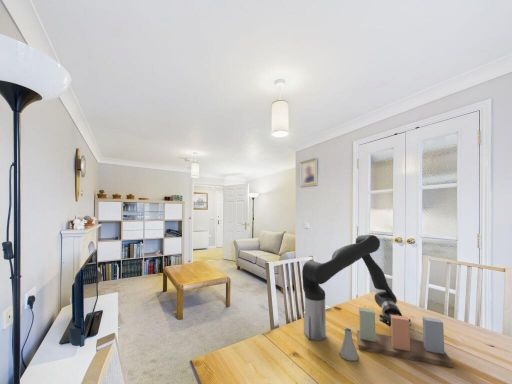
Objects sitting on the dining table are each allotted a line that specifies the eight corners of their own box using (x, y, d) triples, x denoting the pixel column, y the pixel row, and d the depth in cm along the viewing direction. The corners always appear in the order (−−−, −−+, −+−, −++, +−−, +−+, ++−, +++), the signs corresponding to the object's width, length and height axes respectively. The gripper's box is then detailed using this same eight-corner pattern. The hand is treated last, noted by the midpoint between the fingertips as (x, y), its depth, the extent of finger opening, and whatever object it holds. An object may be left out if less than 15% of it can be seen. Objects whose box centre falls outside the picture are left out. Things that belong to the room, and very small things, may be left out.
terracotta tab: (392, 348, 95) (392, 317, 96) (391, 343, 98) (390, 314, 98) (410, 351, 93) (409, 320, 94) (408, 347, 96) (407, 316, 96)
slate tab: (426, 350, 93) (425, 320, 94) (423, 346, 96) (422, 316, 97) (444, 354, 91) (443, 322, 92) (441, 349, 94) (440, 319, 95)
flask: (357, 351, 96) (357, 326, 96) (359, 363, 89) (358, 336, 90) (339, 348, 98) (338, 323, 99) (339, 359, 92) (338, 332, 92)
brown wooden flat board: (358, 349, 98) (358, 344, 98) (356, 334, 109) (356, 330, 109) (452, 367, 87) (452, 362, 87) (440, 348, 98) (440, 344, 98)
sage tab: (360, 338, 102) (359, 310, 102) (359, 335, 104) (359, 307, 105) (375, 341, 100) (374, 312, 100) (374, 337, 102) (374, 309, 103)
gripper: (375, 301, 116) (381, 318, 100) (406, 305, 112) (417, 323, 96) (376, 317, 116) (381, 336, 100) (407, 321, 111) (418, 342, 95)
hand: (399, 329), depth 98 cm, fingers closed
